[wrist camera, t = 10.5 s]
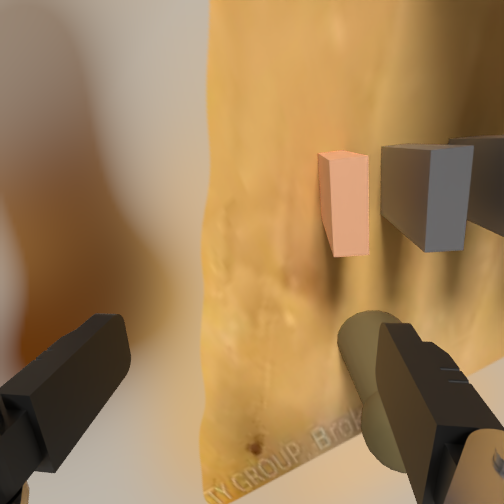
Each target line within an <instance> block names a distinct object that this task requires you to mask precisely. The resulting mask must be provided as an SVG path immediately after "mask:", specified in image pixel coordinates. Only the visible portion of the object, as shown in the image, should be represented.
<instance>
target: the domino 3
mask: <svg viewBox="0 0 504 504" xmlns="http://www.w3.org/2000/svg"><path fill="white" fill-rule="evenodd" d="M448 145H474V152H473V162H472V171H471V181H470V190H469V200H468V210H467V219H466V220H468V221H471V222H473V223H475V224H477V225H479V226H481V227H483V228H486V229H488V230H490V231H492V232H494V233H496V234H499V235H501V236H503V237H504V135H481V136H469V137H461V138H452V139H449V143H448Z"/></svg>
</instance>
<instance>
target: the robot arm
mask: <svg viewBox="0 0 504 504" xmlns="http://www.w3.org/2000/svg"><path fill="white" fill-rule="evenodd" d="M130 362H131V354H130V349H129V343H128V338H127V333H126V328H125V322H124V319H123V317H122V316H121V315H119V314H94V315H93V316H92V317H90V318H89V319H88V320H87V321H86V322H85V323H83V324H82V325H81V326H80V327H79V328H77V329H76V330H74V331H72V332H70V333H69V334H67V335H65V336H63V337H61V338H60V339H59V340H57V341H56V342H55V343H54V344H52V345H51V346H50V347H49V348H48V350H47V351H44V352H43V353H42V354H40V355H39V356H38V357H37V358H36V360H33V361H32V362H31V363H29V364H28V365H27V366H26V367H25V368H23V369H22V370H21V371H20V372H19V373H17V374H16V375H15V376H14V377H13V378H11V379H10V380H9V381H8V382H6V383H5V384H4V385H3V386H1V387H0V504H28V500H29V486H28V483H27V480H28V478H29V477H30V476H31V474H32V473H33V472H34V471H39V472H48V473H55V472H56V471H57V470H58V468H59V467H60V466H61V464H62V463H63V461H64V460H65V459H66V457H67V456H68V455H69V453H70V452H71V450H72V449H73V448H74V446H75V445H76V444H77V442H78V441H79V439H80V438H81V437H82V435H83V434H84V433H85V431H86V430H87V428H88V427H89V426H90V424H91V423H92V422H93V420H94V419H95V417H96V416H97V415H98V413H99V412H100V411H101V409H102V408H103V407H104V405H105V404H106V402H107V401H108V400H109V398H110V397H111V395H112V394H113V393H114V391H115V390H116V389H117V387H118V386H119V385H120V383H121V382H122V380H123V379H124V378H125V376H126V375H127V373H128V371H129V368H130ZM375 376H376V384H377V389H378V392H379V395H380V398H381V400H382V403H383V406H384V409H385V412H386V415H387V418H388V421H389V423H390V426H391V429H392V432H393V435H394V438H395V441H396V444H397V446H398V449H399V452H400V455H401V458H402V461H403V464H404V467H405V469H406V472H407V475H408V478H409V481H410V484H411V487H412V490H413V492H414V495H415V498H416V501H417V504H504V427H503V426H502V425H501V423H500V422H499V421H498V419H497V418H496V417H495V415H494V414H493V413H492V411H491V410H490V409H489V407H488V406H487V405H486V403H485V402H484V401H483V399H482V398H481V397H480V395H479V394H478V392H477V391H476V390H475V389H474V387H473V386H472V384H469V382H468V379H467V378H466V376H465V375H464V374H463V372H462V371H460V370H459V367H458V366H457V364H456V363H455V362H454V360H453V359H452V358H451V356H450V355H449V354H448V353H447V352H445V351H444V350H442V349H441V348H440V347H438V346H437V345H435V344H434V343H433V342H422V340H421V339H420V337H419V335H418V334H417V332H416V331H415V329H414V328H413V326H412V325H411V324H409V323H381V325H380V328H379V337H378V346H377V356H376V367H375Z"/></svg>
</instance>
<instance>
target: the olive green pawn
mask: <svg viewBox="0 0 504 504" xmlns="http://www.w3.org/2000/svg"><path fill="white" fill-rule="evenodd" d="M381 323H401V321H400V320H399V319H397V318H396V317H394V316H393V315H391V314H389V313H386V312H382V311H365V312H361V313H357V314H355V315H354V316H352V317H350V318H349V319H347V320H346V322H345V323H344V324H343V325H342V326H341V328H340V330H339V333H338V342H337V344H338V347H339V349H340V352H341V354H342V357H343V359H344V361H345V364H346V366H347V368H348V371H349V373H350V375H351V378H352V380H353V382H354V385H355V387H356V389H357V392H358V394H359V396H360V399H361V401H362V403H363V408H362V416H361V429H362V434H363V437H364V439H365V442H366V444H367V446H368V448H369V450H370V452H371V453H372V454H373V455H374V456H375V457H376V458H377V459H378V460H379V461H380V462H381V463H382V464H383V465H385V466H386V467H388V468H390V469H391V470H395V471H398V472H401V473H407V472H406V469H405V467H404V464H403V461H402V458H401V455H400V452H399V449H398V446H397V444H396V441H395V438H394V435H393V432H392V429H391V426H390V423H389V421H388V418H387V415H386V412H385V409H384V406H383V403H382V400H381V398H380V395H379V392H378V389H377V384H376V376H375V367H376V356H377V346H378V337H379V328H380V325H381Z"/></svg>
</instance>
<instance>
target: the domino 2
mask: <svg viewBox="0 0 504 504" xmlns="http://www.w3.org/2000/svg"><path fill="white" fill-rule="evenodd" d="M473 152H474V145H441V144H400V145H391V146H383V147H382V153H381V215H382V216H384V217H385V218H386V219H387V220H388V221H389V222H390V223H392V224H393V225H394V226H395V227H396V228H397V229H398V230H400V231H401V232H402V233H403V234H404V235H405V236H406V237H407V238H409V239H410V240H411V241H412V242H413V243H414V244H415V245H417V246H418V247H419V248H420V249H421V250H422V251H423V252H442V251H458V250H463V248H464V238H465V229H466V219H467V210H468V200H469V190H470V181H471V171H472V162H473Z"/></svg>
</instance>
